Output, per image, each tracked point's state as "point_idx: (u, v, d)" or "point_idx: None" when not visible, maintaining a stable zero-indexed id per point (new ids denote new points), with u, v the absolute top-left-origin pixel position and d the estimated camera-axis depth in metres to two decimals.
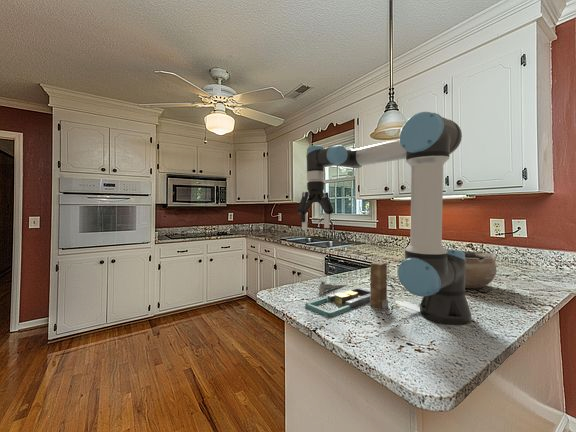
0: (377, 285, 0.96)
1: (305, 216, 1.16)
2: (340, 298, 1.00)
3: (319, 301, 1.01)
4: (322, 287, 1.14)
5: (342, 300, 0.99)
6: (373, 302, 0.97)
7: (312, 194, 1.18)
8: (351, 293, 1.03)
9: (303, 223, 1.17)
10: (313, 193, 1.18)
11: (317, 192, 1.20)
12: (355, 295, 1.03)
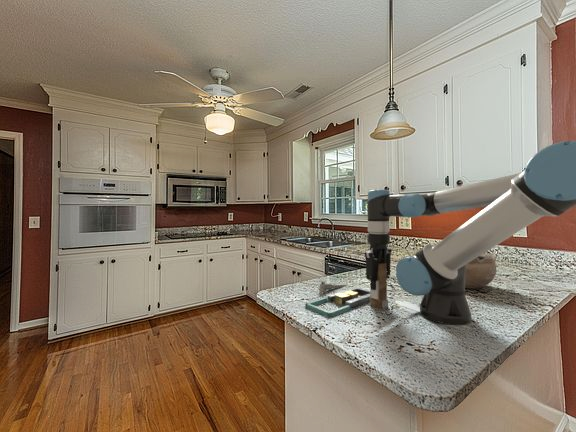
0: None
1: (376, 283, 0.95)
2: (340, 298, 1.00)
3: (319, 301, 1.01)
4: (322, 287, 1.14)
5: (342, 300, 0.99)
6: (373, 302, 0.97)
7: (376, 250, 0.95)
8: (351, 293, 1.03)
9: (373, 290, 0.97)
10: (376, 248, 0.95)
11: (381, 246, 0.97)
12: (355, 295, 1.03)
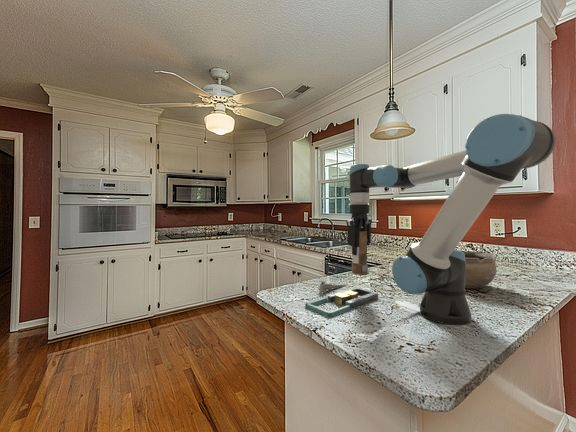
0: None
1: (357, 248, 1.05)
2: (340, 298, 1.00)
3: (319, 301, 1.01)
4: (322, 287, 1.14)
5: (342, 300, 0.99)
6: (354, 267, 1.07)
7: (357, 218, 1.05)
8: (351, 293, 1.03)
9: (354, 256, 1.06)
10: (357, 217, 1.05)
11: (361, 216, 1.06)
12: (355, 295, 1.03)
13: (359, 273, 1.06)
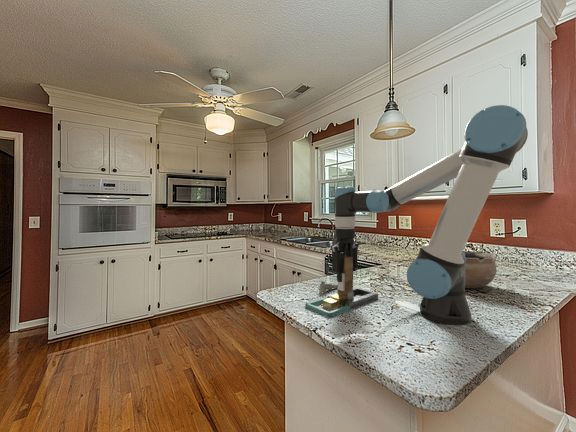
0: None
1: (342, 275, 1.00)
2: (329, 304, 0.96)
3: (319, 301, 1.01)
4: (322, 287, 1.14)
5: (331, 306, 0.96)
6: (340, 294, 1.02)
7: (342, 244, 1.00)
8: (339, 297, 1.00)
9: (339, 282, 1.01)
10: (342, 242, 1.00)
11: (347, 241, 1.01)
12: (343, 299, 0.99)
13: None
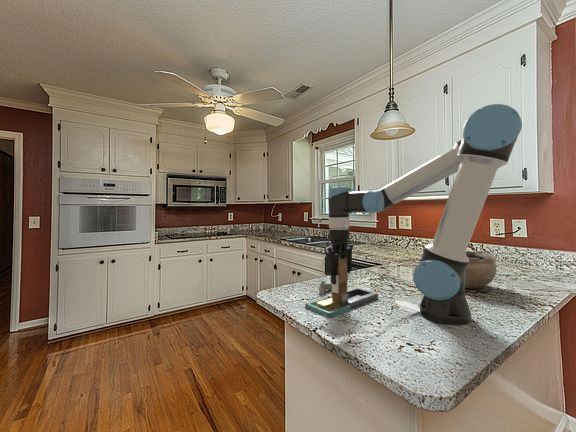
0: None
1: (336, 277, 0.98)
2: (322, 306, 0.94)
3: None
4: (322, 287, 1.14)
5: (325, 309, 0.94)
6: (334, 296, 1.00)
7: (336, 245, 0.97)
8: (333, 301, 0.97)
9: (333, 284, 0.99)
10: (336, 243, 0.98)
11: (341, 242, 0.99)
12: (337, 303, 0.97)
13: None
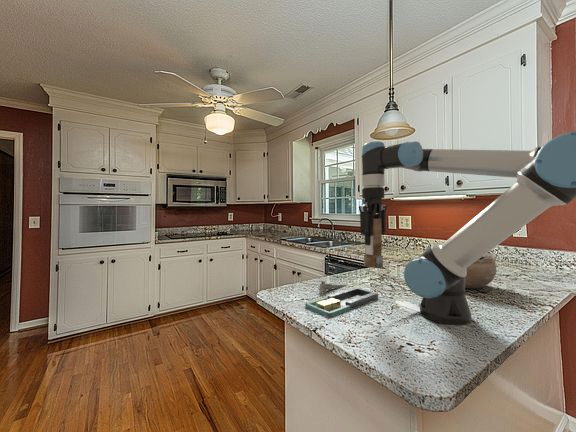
0: None
1: (371, 238, 0.93)
2: (322, 306, 0.94)
3: None
4: (322, 287, 1.14)
5: (325, 309, 0.94)
6: (367, 258, 0.95)
7: (370, 204, 0.92)
8: (333, 301, 0.97)
9: (367, 246, 0.94)
10: (371, 202, 0.93)
11: (376, 201, 0.94)
12: (337, 303, 0.97)
13: (373, 266, 0.93)
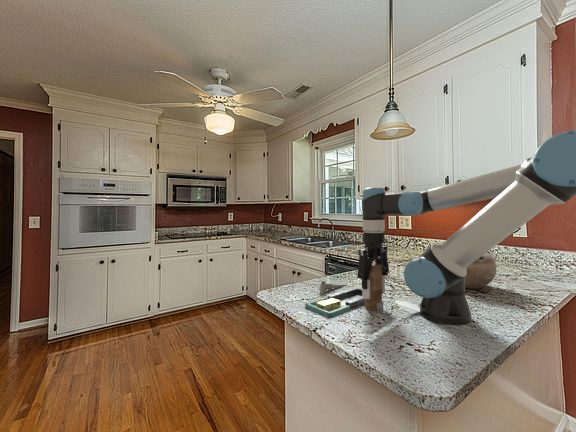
0: (372, 287, 0.94)
1: (367, 282, 0.92)
2: (322, 306, 0.94)
3: None
4: (322, 287, 1.14)
5: (325, 309, 0.94)
6: (368, 304, 0.96)
7: (371, 249, 0.93)
8: (333, 301, 0.97)
9: (364, 290, 0.93)
10: (372, 247, 0.93)
11: (376, 246, 0.95)
12: (337, 303, 0.97)
13: None
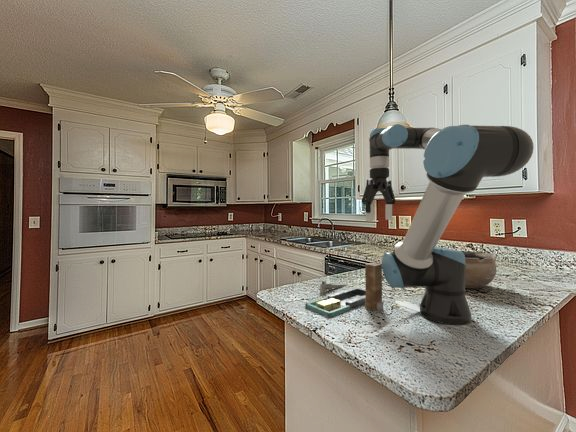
0: (372, 287, 0.94)
1: (371, 206, 1.05)
2: (322, 306, 0.94)
3: None
4: (323, 287, 1.14)
5: (325, 309, 0.94)
6: (368, 304, 0.96)
7: (377, 182, 1.07)
8: (333, 301, 0.97)
9: (368, 214, 1.06)
10: (378, 181, 1.08)
11: (381, 180, 1.09)
12: (337, 303, 0.97)
13: None
